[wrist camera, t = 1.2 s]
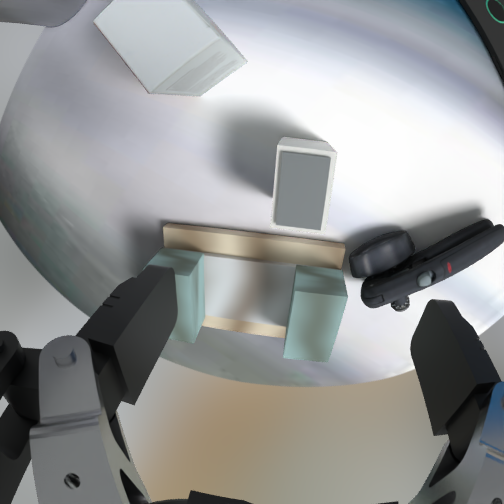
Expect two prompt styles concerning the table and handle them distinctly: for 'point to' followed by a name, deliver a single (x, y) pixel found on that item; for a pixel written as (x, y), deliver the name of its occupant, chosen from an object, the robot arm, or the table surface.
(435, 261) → the can opener
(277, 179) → the block
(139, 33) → the small box
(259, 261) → the rail board
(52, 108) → the table surface
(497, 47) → the smart home device
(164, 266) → the robot arm
